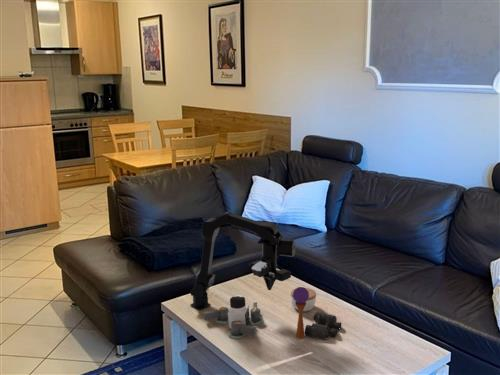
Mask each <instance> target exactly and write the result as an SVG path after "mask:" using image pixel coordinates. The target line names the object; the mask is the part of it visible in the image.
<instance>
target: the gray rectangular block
mask: <svg viewBox="0 0 500 375" xmlns="http://www.w3.org/2000/svg"><path fill="white" fill-rule="evenodd" d="M230 331H231V333H232V334H233V335H240V334H241V333H244V334H245V335H249V336H252V337H253V336H256V335H257V327H256V326H254V325H252V326H251V325H250V324H248V325H244V324H242V322H241V321H233V322H232V323H231V329H230Z"/></svg>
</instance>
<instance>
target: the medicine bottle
mask: <svg viewBox="0 0 500 375" xmlns="http://www.w3.org/2000/svg"><path fill="white" fill-rule="evenodd" d="M229 305H230V308H228V309H229V312H228V321H229V323H228V328H229V329H230V330H231V323H232V322H233V321H241V322H242V324H244V325H250V324H249V321H250V306H249V304H246V298H245V296H243V295H239V294H238V295H233V296H232V297H230V299H229Z"/></svg>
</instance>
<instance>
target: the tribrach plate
mask: <svg viewBox="0 0 500 375" xmlns="http://www.w3.org/2000/svg"><path fill="white" fill-rule="evenodd" d="M214 320H215V322H216V323H217V324H220V325H229V321H228V320H225V321H222V320H220V319H219V318H216V319H214ZM263 323H264V319H263V317H261V316H260V321H257V322H254V321H251V318H250V321H249V324H248V325H249V326H259V325H262V324H263ZM245 336H246V334H244V333H241V334H240V335H233V334H232V333H231V330H229V331H228V338H230V339H234V340H239V339H243V338H244V337H245Z"/></svg>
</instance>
